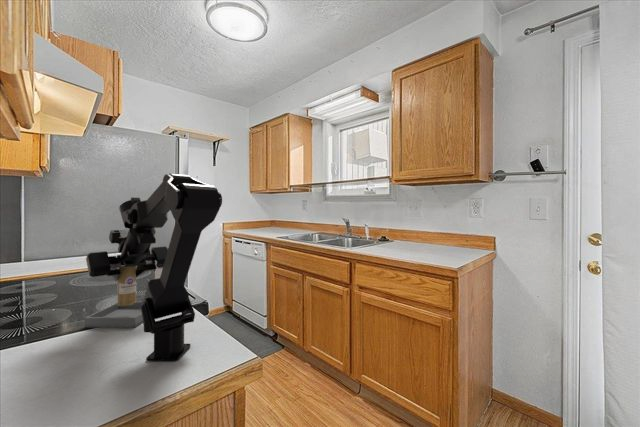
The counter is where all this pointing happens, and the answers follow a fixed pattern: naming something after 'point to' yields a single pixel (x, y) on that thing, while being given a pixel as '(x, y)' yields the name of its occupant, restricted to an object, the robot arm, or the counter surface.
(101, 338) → the counter surface
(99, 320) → the tray
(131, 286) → the sprinkles bottle
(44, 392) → the counter surface
